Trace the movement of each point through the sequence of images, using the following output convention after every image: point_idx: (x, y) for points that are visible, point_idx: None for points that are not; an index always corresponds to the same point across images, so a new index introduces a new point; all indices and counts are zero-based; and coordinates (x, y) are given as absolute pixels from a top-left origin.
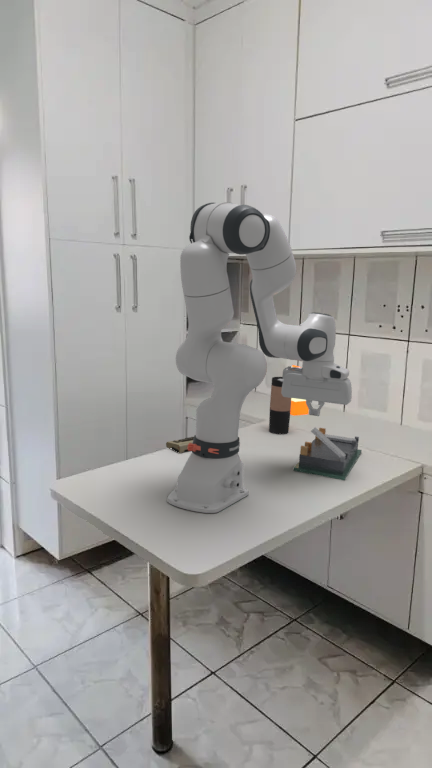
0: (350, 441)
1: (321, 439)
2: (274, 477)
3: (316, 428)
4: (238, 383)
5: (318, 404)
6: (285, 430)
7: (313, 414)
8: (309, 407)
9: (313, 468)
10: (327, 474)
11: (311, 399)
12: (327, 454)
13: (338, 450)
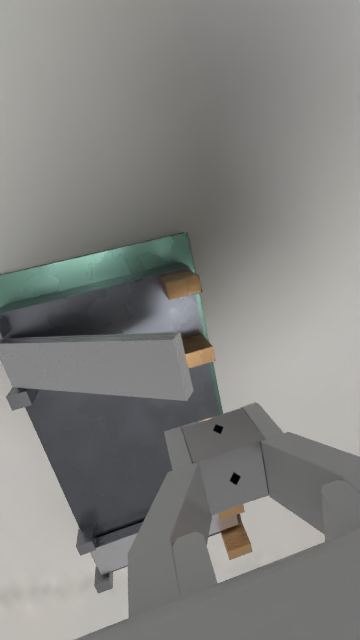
0: (106, 540)
1: (106, 336)
2: (203, 106)
3: (175, 397)
4: None
5: (200, 538)
6: None
7: (215, 418)
8: (294, 448)
9: (123, 275)
10: (52, 263)
11: (358, 547)
12: None
13: (30, 364)
